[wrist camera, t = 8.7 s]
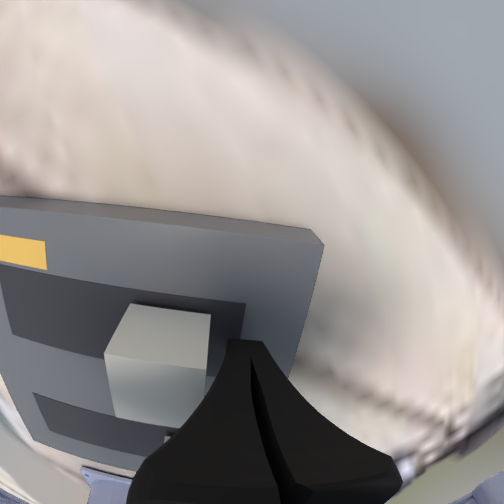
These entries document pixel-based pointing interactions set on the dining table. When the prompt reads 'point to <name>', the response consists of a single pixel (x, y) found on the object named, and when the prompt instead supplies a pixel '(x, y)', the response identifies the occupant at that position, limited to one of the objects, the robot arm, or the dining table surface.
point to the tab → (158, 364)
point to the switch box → (135, 292)
